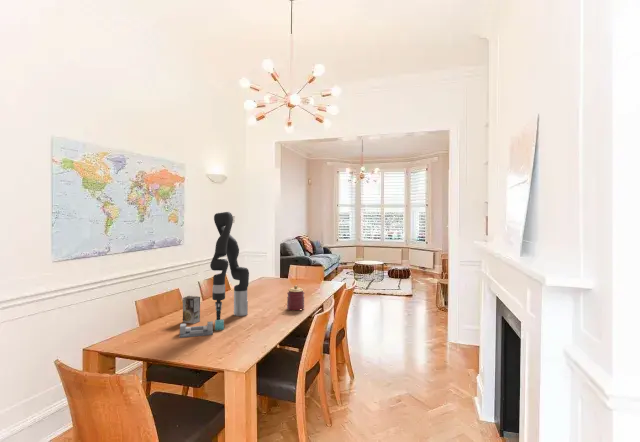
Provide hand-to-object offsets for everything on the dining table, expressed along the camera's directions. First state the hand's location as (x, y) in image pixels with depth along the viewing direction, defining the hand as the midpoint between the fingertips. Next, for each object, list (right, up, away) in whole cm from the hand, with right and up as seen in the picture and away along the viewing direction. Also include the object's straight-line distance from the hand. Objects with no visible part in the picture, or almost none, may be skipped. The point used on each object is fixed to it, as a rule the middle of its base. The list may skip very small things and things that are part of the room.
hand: (218, 317), depth 208 cm
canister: (+44, -7, +47) cm, 65 cm away
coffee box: (-21, -6, +13) cm, 26 cm away
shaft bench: (-11, -7, -8) cm, 15 cm away
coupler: (+1, -7, 0) cm, 7 cm away
